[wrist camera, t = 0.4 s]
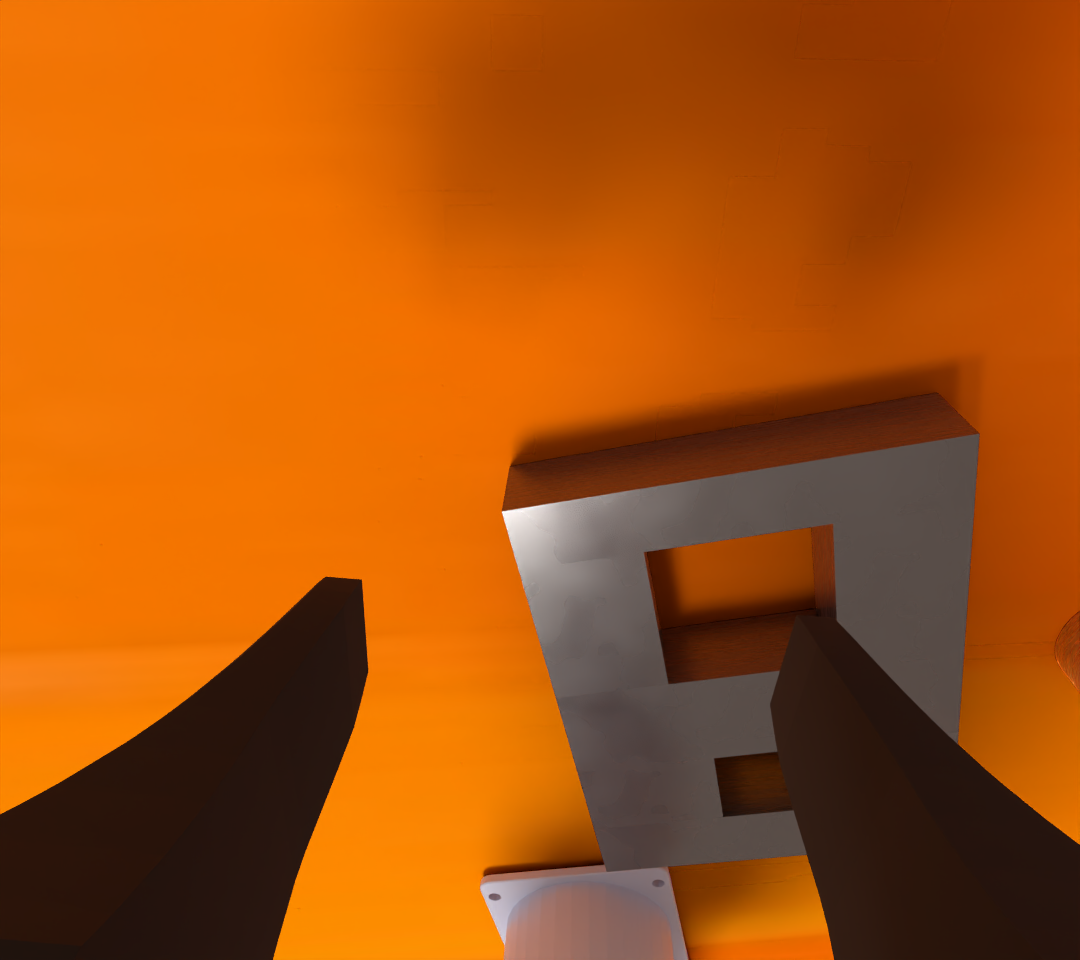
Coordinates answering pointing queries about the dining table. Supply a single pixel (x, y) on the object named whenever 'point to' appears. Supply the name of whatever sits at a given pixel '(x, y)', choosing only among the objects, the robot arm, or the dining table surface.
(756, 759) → the fitting block
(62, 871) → the robot arm
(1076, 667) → the cylinder
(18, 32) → the dining table surface
